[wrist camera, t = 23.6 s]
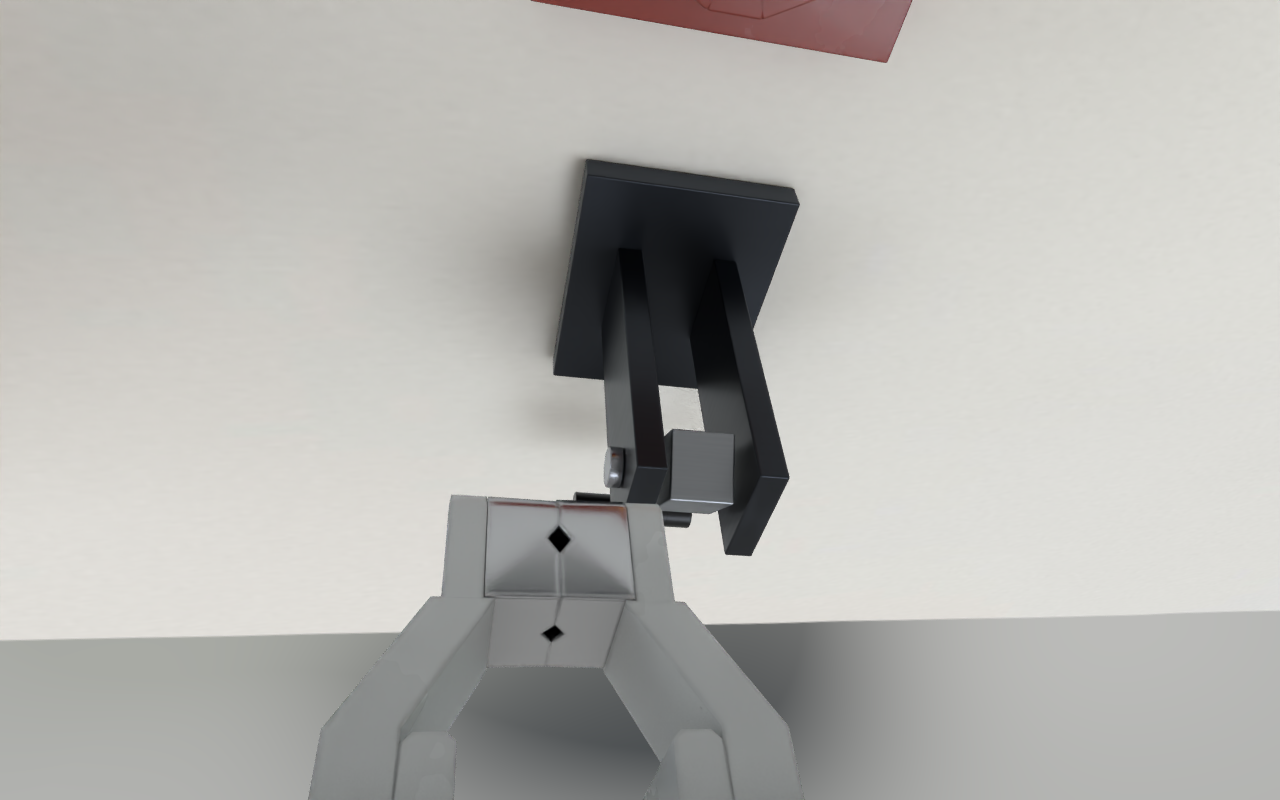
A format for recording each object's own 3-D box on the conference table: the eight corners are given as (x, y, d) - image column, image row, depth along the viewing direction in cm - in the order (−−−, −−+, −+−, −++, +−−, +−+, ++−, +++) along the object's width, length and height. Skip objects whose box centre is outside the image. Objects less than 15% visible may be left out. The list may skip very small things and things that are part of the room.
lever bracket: (726, 375, 41) (772, 605, 32) (553, 358, 40) (551, 594, 31) (794, 188, 34) (878, 417, 25) (586, 158, 33) (595, 391, 24)
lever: (685, 490, 41) (684, 540, 40) (573, 482, 40) (570, 533, 39) (782, 437, 29) (782, 508, 28) (623, 424, 28) (619, 496, 27)
